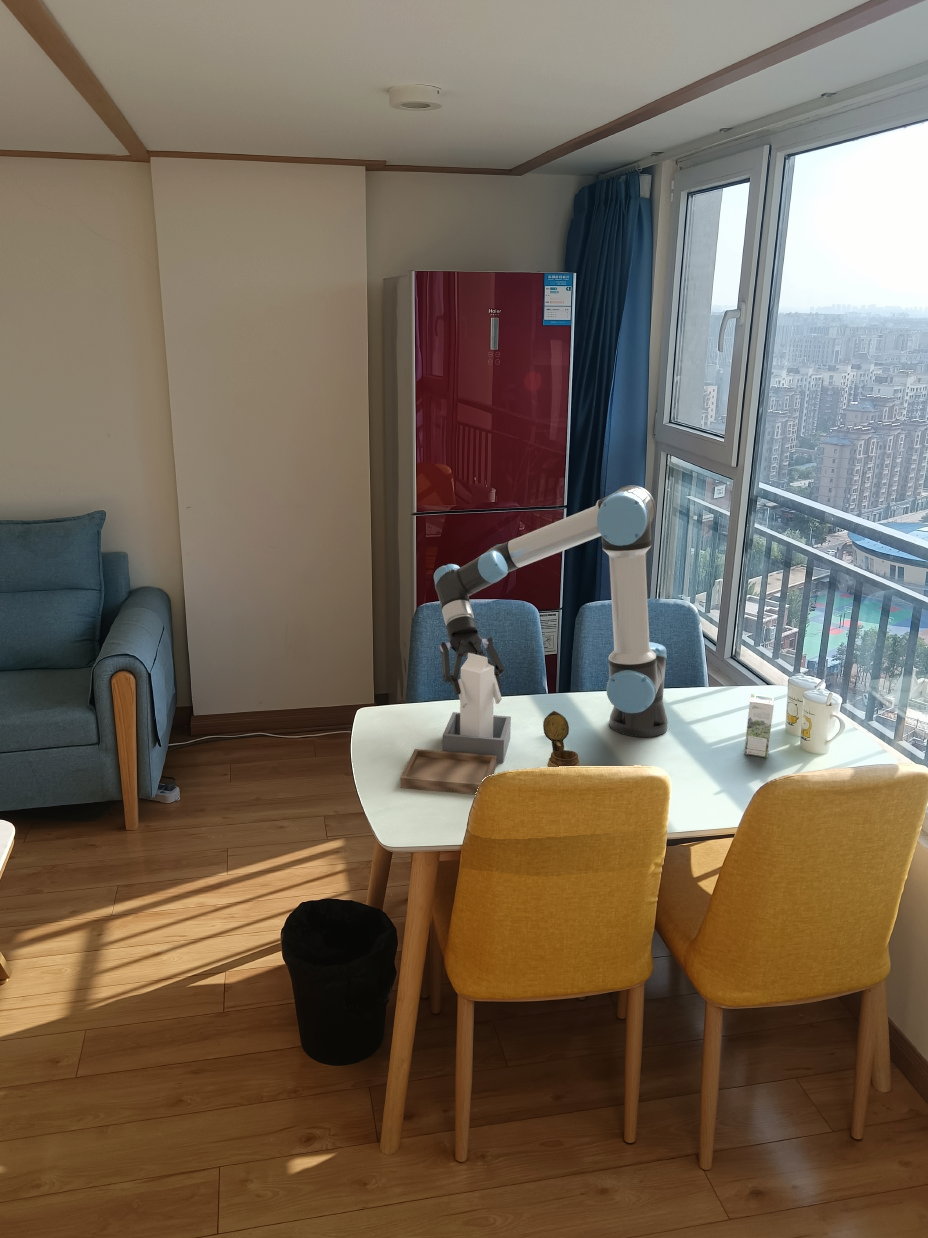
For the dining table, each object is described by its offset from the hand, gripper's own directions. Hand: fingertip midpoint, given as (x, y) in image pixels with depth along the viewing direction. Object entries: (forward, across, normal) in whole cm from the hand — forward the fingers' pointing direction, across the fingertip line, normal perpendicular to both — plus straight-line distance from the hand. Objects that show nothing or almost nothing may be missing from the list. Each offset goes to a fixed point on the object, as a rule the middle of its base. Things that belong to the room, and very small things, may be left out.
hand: (481, 703), depth 237 cm
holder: (+7, 0, -12) cm, 14 cm away
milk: (+5, 0, -10) cm, 11 cm away
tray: (+16, +12, -2) cm, 20 cm away
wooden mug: (+28, -9, +9) cm, 31 cm away
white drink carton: (+24, -66, +5) cm, 70 cm away
